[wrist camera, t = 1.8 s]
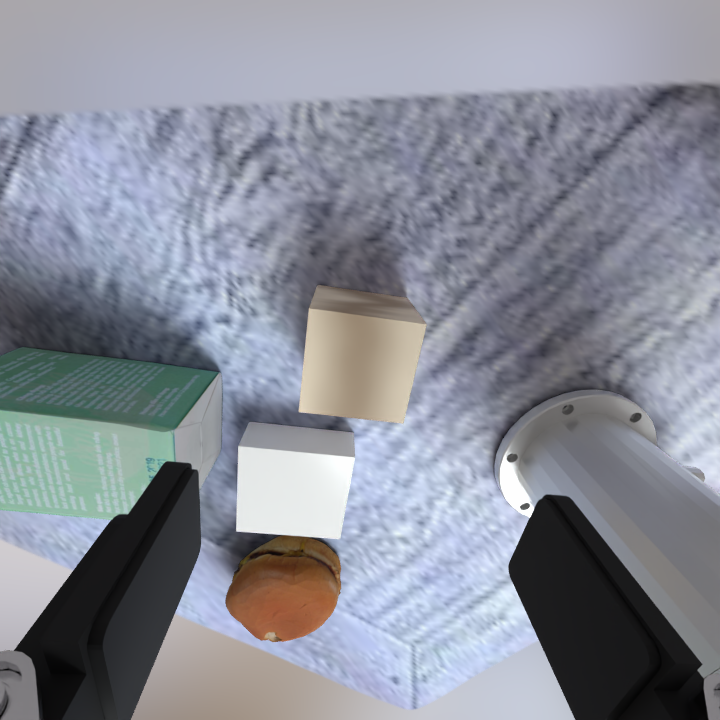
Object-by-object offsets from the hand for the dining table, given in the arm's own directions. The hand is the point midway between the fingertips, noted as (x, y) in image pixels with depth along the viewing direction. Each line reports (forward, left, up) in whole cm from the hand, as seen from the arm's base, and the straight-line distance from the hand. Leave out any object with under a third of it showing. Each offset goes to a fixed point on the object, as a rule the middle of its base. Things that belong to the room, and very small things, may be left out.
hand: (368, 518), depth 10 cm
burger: (+3, +24, -16) cm, 29 cm away
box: (+16, +8, -16) cm, 24 cm away
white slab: (+3, +12, -16) cm, 20 cm away
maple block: (0, 0, -16) cm, 16 cm away
